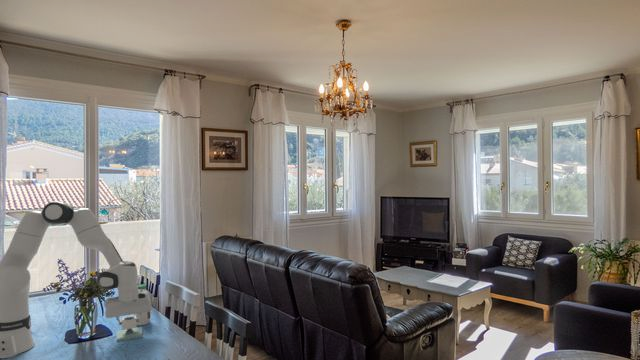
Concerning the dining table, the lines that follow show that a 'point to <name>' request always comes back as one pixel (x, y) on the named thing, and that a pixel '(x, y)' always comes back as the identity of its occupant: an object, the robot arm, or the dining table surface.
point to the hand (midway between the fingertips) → (129, 323)
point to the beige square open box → (128, 323)
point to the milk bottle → (146, 315)
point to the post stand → (129, 333)
